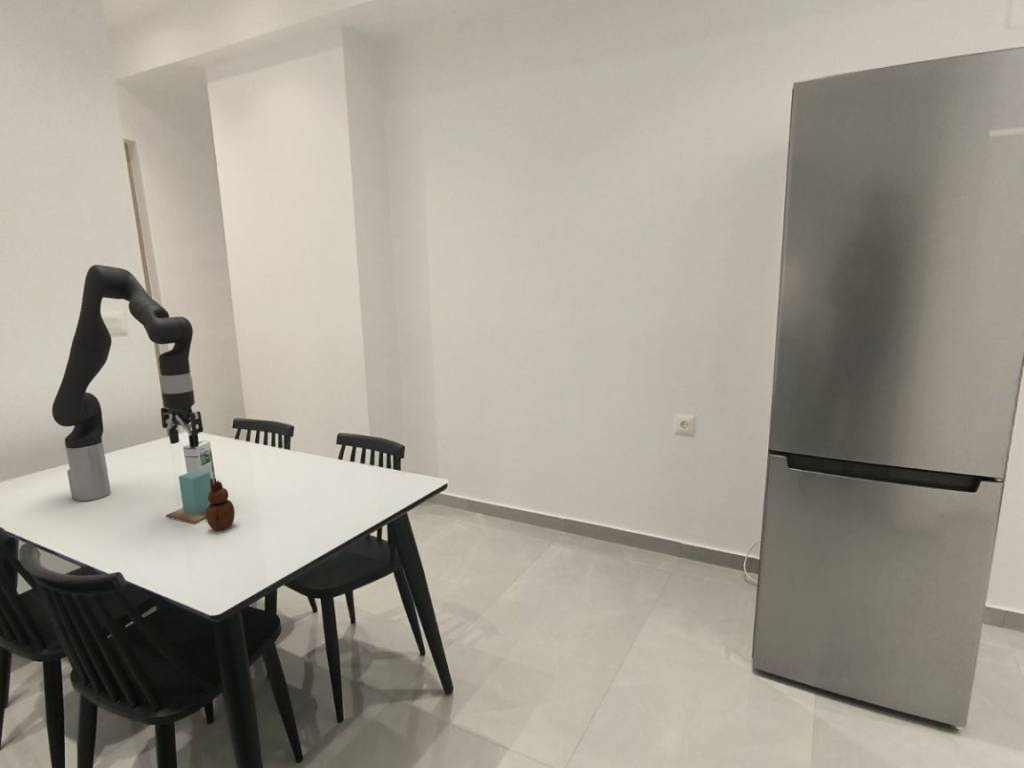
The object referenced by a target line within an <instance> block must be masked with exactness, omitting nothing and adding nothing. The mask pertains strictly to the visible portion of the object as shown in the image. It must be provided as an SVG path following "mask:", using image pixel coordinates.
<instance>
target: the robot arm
mask: <svg viewBox="0 0 1024 768" xmlns="http://www.w3.org/2000/svg"><path fill="white" fill-rule="evenodd" d="M86 272H87V273H86V275H85V278H84V279H85V280H84V284H83V292H82V298H81V306H80V312H79V315H78V316H79V317H78V321H77V325H76V328H75V333H74V335H73V339H72V341H71V344H70V345H71V346H70V349H69V350H70V351H69V356H68V359H67V363H66V367H65V371H64V372H63V373H64V374H63V377H62V380H61V382H60V386H59V389H58V391H57V392H56V395H55V397H54V400H53V402H52V407H51V414H52V417H53V420H54V421H55V423H56V424H57V425H58V426H61V427H66V428H67V427H73V426H74V427H73V429H72V430H71V432H70V433H69V434H68V435H66V437H65V438H64V444H65V445H64V446H65V450H66V457H67V461H68V467H69V469H67V471H66V472H67V479H68V484H69V488H70V494H71V495H70V496H71V499H72V500H74V501H77V502H86V501H87V502H88V501H94V500H98V499H101V498H104V497H105V498H106V496H108V495H110V494H111V493H112V490H111V485H110V479H109V473H108V468H107V467H108V466H107V460H106V455H105V449H104V448H105V447H104V444H103V443H104V442H103V434H104V421H103V411H102V407H101V403H100V400H99V399H98V398H97V397H96V396H95V395H94V394H93V393H90V392H87V389H88V387H89V385H90V384H91V383H92V381H93V380H94V379H95V377H96V376H97V375H98V374H99V373H100V372H101V370H102V369H103V368H104V366H105V364H106V363H107V360H108V357H109V354H110V350H111V347H112V343H113V342H112V336H111V334H110V331H109V329H108V327H107V325H106V323H105V322H104V319H103V316H102V310H101V305H102V302H103V299H104V298H106V299H112V300H113V299H115V300H125V301H127V302H128V310H129V313H130V314H131V316H132V317H133V318H134V319H135V320H136V321H138V322H139V323H140V324H141V325H142V326H143V327H144V329H145V331H146V334H147V336H148V337H147V338H148V339H149V340H150V341H151V342H153V343H155V344H158V345H168V344H174V345H173V347H172V349H170V350H168V351H165V352H163V353H161V354H159V356H158V361H159V362H158V363H159V370H160V371H159V372H160V386H161V395H162V401H163V407H161V408H160V416H161V417H160V418H161V426H162V427H161V428H163V429H166V431H167V432H168V436H169V443H170V444H172V445H175V444H178V443H180V436H179V429H178V427H179V426H181V427H182V429H183V430H185V431H186V432H187V435H188V444H190V448H195V447H198V446H199V441H200V440H199V434H200V433H202V432H204V425H203V421H202V415H201V414H202V413H201V412H200V410H198V411H193V409H192V407H193V406H194V405H195V403H196V401H195V392H194V391H195V390H194V385H193V378H192V375H191V368H190V367H191V366H190V361H189V360H190V359H189V358H190V351H191V345H192V340H193V334H194V330H193V326H192V324H191V323H192V322H191V321H190V320H189V319H188V318H186V317H184V316H171V317H170V314H169V312H168V310H167V309H165V308H164V307H163V306H162V305H161V304H160V303H158V302H157V301H156V300H154V299H153V298H152V297H151V296H150V295H149V294H148V293H147V291H146V289H144V287H143V286H142V284H141V282H139V281H138V279H137V278H136V277H135V276H134V274H133V273H131V271H129V270H128V269H125V268H121V267H117V266H116V267H115V266H110V265H109V266H108V265H103V264H93V265H91V266H90V267H89V269H88V270H87V271H86Z"/></svg>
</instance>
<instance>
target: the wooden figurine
mask: <svg viewBox="0 0 1024 768" xmlns="http://www.w3.org/2000/svg"><path fill="white" fill-rule="evenodd" d="M210 484H211V491H210V492H209V494H208V500H209V502H210V503H211V504H210V505H209V506H208V507H207V509H206V519H205V520H206V521H207V522H206V523H207V524H208V525H209V526H210V528H211V529H212V530H213V531H215V532H219V531H224V530H227V529H229V528H230V527H232V526H233V523H234V520H235V506H234V504H233V502H232V501H231V500H229V493H228V489H226V488H224V487H223V484H222V482H221V481H219V480H217V479H216V477H215V478H214V483H213V481H212V479H210Z"/></svg>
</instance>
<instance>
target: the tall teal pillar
mask: <svg viewBox="0 0 1024 768" xmlns="http://www.w3.org/2000/svg"><path fill="white" fill-rule="evenodd" d="M178 481H179V489H180V495H181V502H182V508H183V510H184V512H185V513H189V514H194V515H199V514H201V513H203V512H206V509H207V507H208V506H209V505H210V504H211V503H210V502H209V500H208V494H209V492H210V491H211V484H210V472H205V471H199V470H195V471H192V472H190V473H187V472H186V473H184V474H181V475H178Z"/></svg>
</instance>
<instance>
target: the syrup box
mask: <svg viewBox="0 0 1024 768" xmlns="http://www.w3.org/2000/svg"><path fill="white" fill-rule="evenodd" d="M198 441H199V446H198V447H195V448H190V444H189V443H188V444H185V445H183V446H182V450H183V456H184V462H185V469H186V474H187V473H190V472H192V471H195V470H199V471H205V472H210V479H212V481H213V483H214V478H216V475H215V474H216V473H215V466H214V461H213V460H214V459H213V453H212V447H211V441H209V440H198Z"/></svg>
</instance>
